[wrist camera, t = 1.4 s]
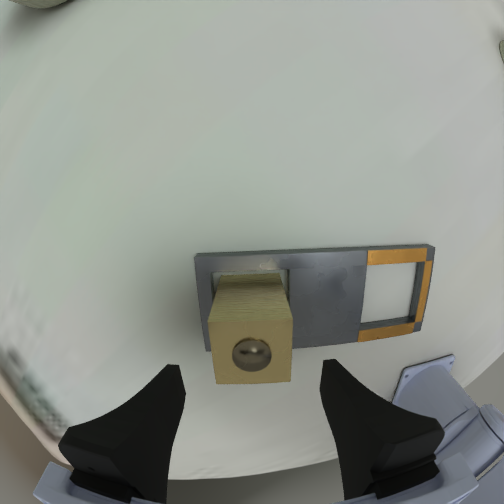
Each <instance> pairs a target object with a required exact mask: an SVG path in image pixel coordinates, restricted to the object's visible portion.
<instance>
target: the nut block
mask: <svg viewBox="0 0 504 504" xmlns="http://www.w3.org/2000/svg"><path fill="white" fill-rule="evenodd" d="M208 330H209V337H210V345H211V352H212V359H213V365H214V372H215V378H216V384H258V383H278V382H290V380H291V359H292V333H293V317H292V314H291V311H290V307H289V304H288V301H287V297H286V294H285V291H284V287H283V284H282V281H281V277H280V274H279V273H268V274H244V275H221V278H220V282H219V285H218V288H217V292H216V295H215V298H214V302H213V305H212V308H211V312H210V315H209V318H208Z"/></svg>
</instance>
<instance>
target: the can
mask: <svg viewBox="0 0 504 504" xmlns="http://www.w3.org/2000/svg"><path fill="white" fill-rule="evenodd" d="M500 53H501V56H502V59H503V62H504V40H503V41H501V42H500Z"/></svg>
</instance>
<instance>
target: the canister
mask: <svg viewBox="0 0 504 504" xmlns="http://www.w3.org/2000/svg"><path fill="white" fill-rule="evenodd" d="M9 1H13V2H16V3H19V4H22V5H25V6H28V7H32V8H40V9H43V8H50V7H53V6H57V5H59V4H60V3H64V2H65V1H67V0H9Z"/></svg>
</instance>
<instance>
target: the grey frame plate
mask: <svg viewBox="0 0 504 504" xmlns="http://www.w3.org/2000/svg"><path fill="white" fill-rule="evenodd" d="M434 254H435V247H433V246H431V245H428V244H422V245H396V246H370V247H345V248H320V249H295V250H270V251H245V252H220V253H197V254H196V256H195V257H194V261H195V271H196V280H197V289H198V297H199V306H200V313H201V321H202V328H203V335H204V342H205V349H206V351H211V345H210V337H209V330H208V318H209V315H210V312H211V308H212V305H213V302H214V298H215V296H214V286H213V275H212V272H230V271H257V270H280V269H288V304H289V307H290V311H291V314H292V317H293V333H292V349H294V348H307V347H317V346H327V345H336V344H344V343H352V342H364V341H370V340H377V339H383V338H389V337H394V336H400V335H405V334H410V333H413V332H417V331H420V330H421V326H422V322H423V318H424V313H425V309H426V304H427V299H428V294H429V288H430V282H431V276H432V269H433V262H434ZM408 262H417V270H416V277H415V284H414V290H413V296H412V301H411V307H410V312H409V316H408V317H402V318H395V319H389V320H382V321H375V322H367V323H360V321H361V314H362V307H363V298H364V290H365V280H366V269H367V265H379V264H394V263H408Z"/></svg>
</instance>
